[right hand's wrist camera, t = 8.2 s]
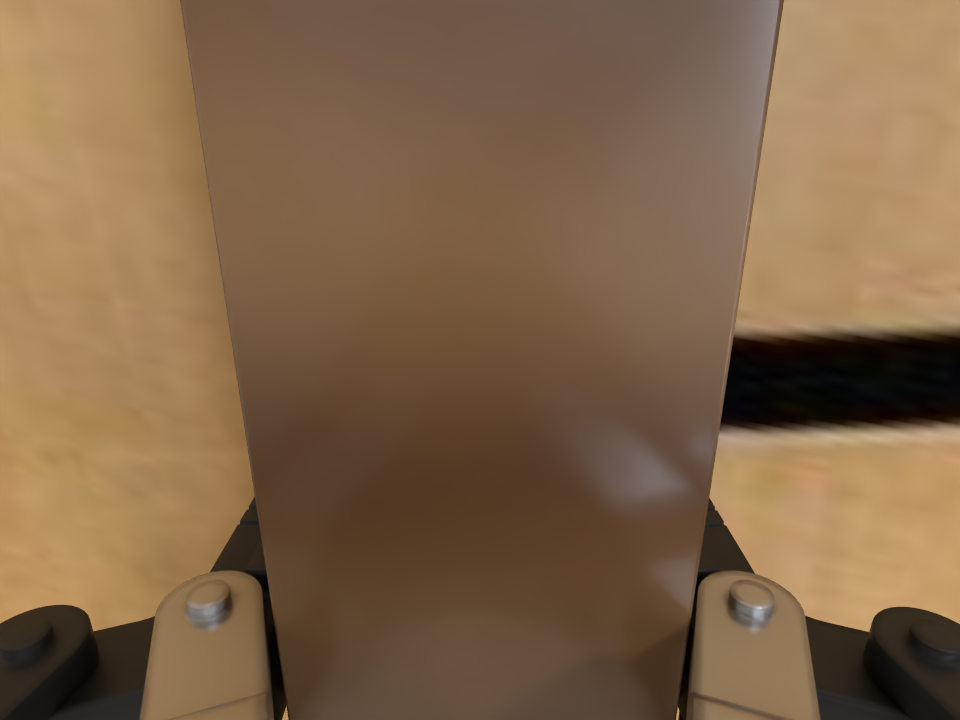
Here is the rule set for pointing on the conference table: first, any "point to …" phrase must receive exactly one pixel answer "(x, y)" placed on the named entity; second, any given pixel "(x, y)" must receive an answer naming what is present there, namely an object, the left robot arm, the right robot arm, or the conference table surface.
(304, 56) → the post
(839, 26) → the conference table surface
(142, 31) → the conference table surface
